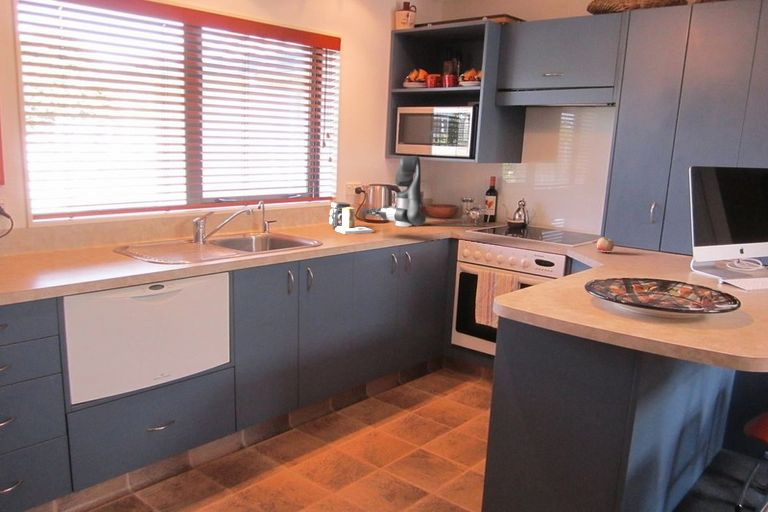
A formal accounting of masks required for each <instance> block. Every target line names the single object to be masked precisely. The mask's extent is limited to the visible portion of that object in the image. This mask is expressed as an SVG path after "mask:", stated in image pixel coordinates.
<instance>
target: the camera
mask: <svg viewBox="0 0 768 512" xmlns="http://www.w3.org/2000/svg"><path fill="white" fill-rule="evenodd" d="M330 207H331V208H330V210H329V214H328V218H329V224H330V226H332V228H334V229H335V228H337V227H339V226H342V208H346V207H350V208H351V203H348V202H343V201H342V202H341V201H333V202H331V203H330Z"/></svg>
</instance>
